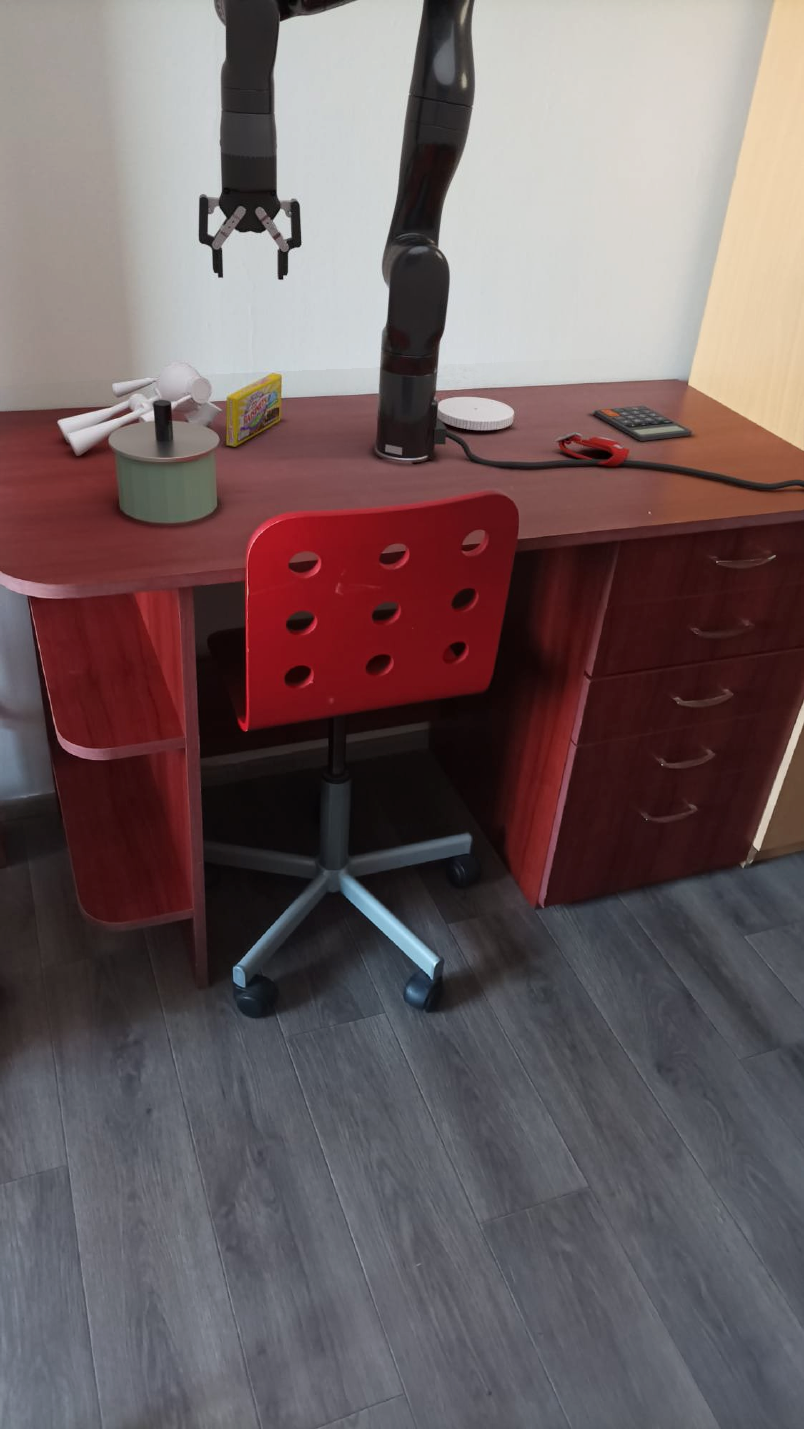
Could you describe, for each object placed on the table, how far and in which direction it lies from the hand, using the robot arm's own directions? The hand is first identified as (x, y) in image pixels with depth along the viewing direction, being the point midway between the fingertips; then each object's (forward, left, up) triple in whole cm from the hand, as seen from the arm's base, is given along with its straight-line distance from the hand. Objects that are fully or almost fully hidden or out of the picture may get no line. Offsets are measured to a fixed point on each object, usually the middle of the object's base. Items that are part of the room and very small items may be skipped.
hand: (250, 277), depth 149 cm
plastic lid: (-41, -21, -28) cm, 54 cm away
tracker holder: (-58, -4, -28) cm, 65 cm away
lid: (+13, +16, -19) cm, 28 cm away
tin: (+13, +16, -28) cm, 35 cm away
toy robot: (+17, -11, -28) cm, 35 cm away
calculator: (-73, -20, -28) cm, 81 cm away
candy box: (-1, -15, -28) cm, 32 cm away
